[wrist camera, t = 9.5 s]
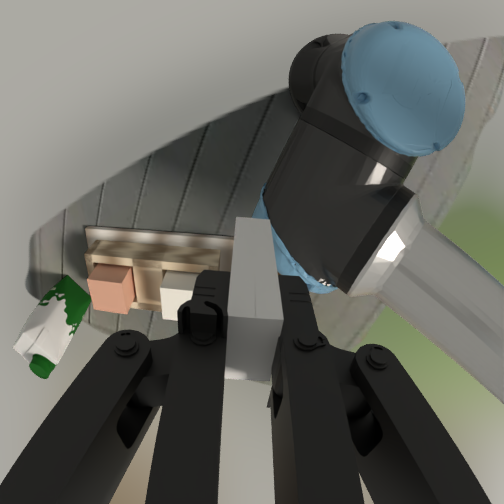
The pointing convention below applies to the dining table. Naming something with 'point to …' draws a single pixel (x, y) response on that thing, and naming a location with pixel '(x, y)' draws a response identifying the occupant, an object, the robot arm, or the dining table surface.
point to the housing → (156, 256)
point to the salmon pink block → (112, 287)
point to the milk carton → (52, 326)
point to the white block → (176, 291)
